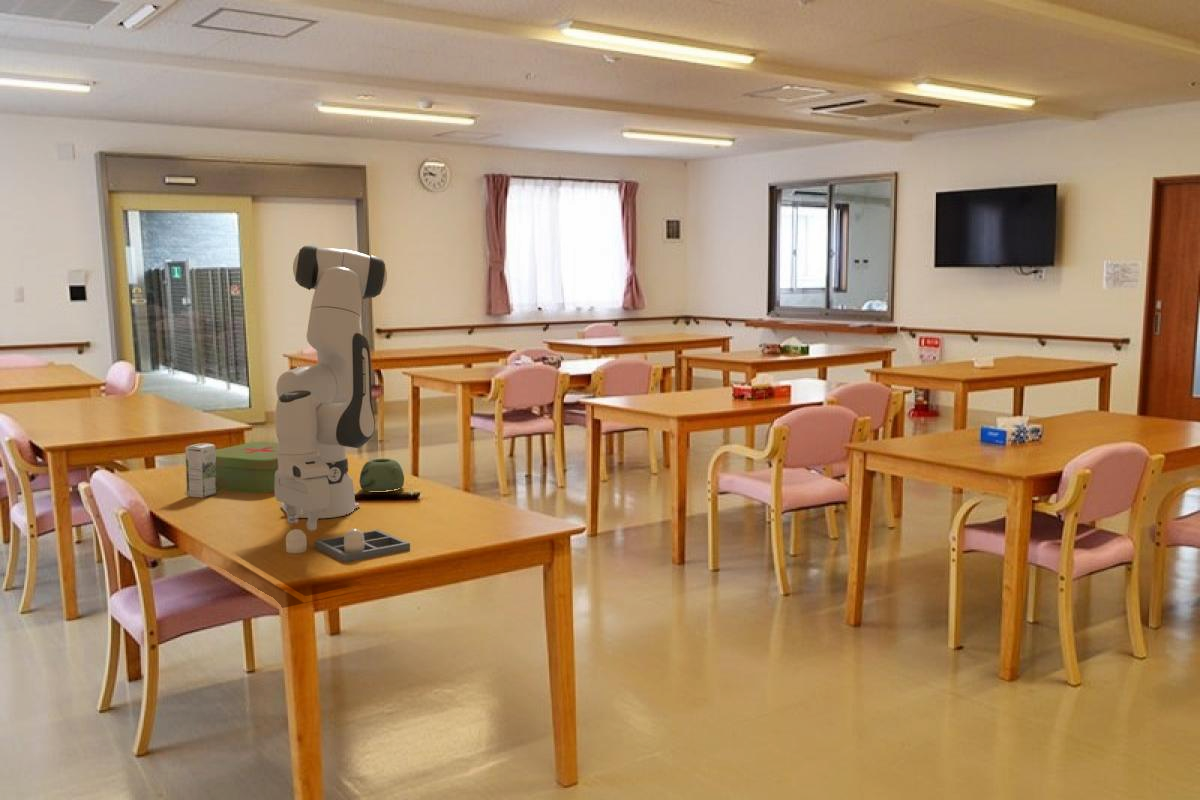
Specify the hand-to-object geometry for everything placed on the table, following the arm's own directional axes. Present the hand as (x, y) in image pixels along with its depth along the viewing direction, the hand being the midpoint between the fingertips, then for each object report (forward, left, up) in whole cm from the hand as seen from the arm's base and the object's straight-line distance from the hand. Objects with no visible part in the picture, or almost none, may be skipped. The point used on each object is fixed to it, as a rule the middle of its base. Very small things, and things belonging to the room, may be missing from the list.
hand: (302, 526), depth 224 cm
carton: (+7, +11, -7) cm, 14 cm away
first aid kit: (-83, +23, -7) cm, 87 cm away
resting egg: (+10, +7, -6) cm, 14 cm away
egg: (-1, -1, -7) cm, 7 cm away
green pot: (-49, +46, -7) cm, 68 cm away
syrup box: (-76, +3, -7) cm, 77 cm away
